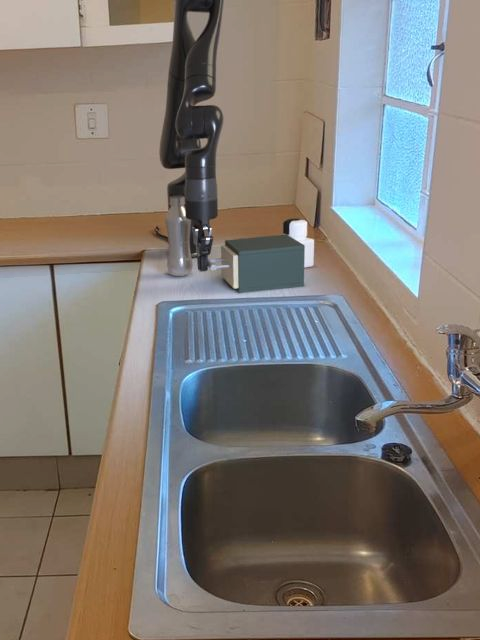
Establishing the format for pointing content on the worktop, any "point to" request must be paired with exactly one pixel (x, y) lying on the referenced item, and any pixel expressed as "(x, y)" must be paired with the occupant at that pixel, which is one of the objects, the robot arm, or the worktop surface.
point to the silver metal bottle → (178, 238)
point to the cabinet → (268, 262)
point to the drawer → (227, 265)
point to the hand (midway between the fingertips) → (202, 270)
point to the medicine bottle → (300, 238)
